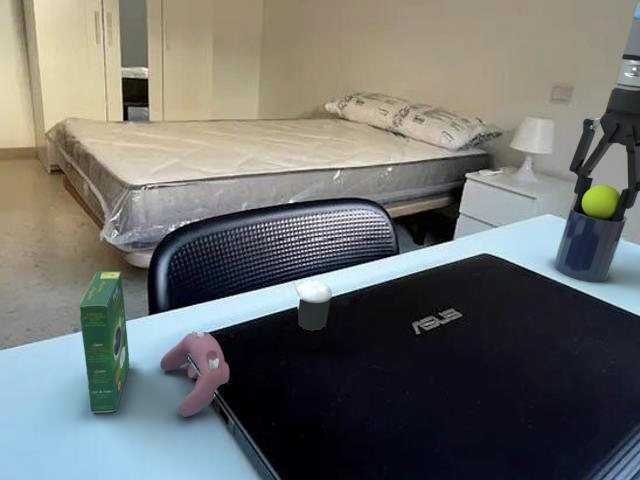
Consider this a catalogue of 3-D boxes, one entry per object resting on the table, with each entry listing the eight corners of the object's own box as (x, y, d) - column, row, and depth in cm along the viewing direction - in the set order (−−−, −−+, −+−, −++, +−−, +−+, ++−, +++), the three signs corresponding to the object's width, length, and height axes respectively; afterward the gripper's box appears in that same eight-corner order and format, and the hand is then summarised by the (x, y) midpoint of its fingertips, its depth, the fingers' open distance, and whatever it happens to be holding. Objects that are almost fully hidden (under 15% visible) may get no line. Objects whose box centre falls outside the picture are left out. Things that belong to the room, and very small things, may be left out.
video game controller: (215, 423, 55) (243, 369, 54) (177, 420, 52) (206, 363, 51) (189, 370, 63) (213, 323, 62) (155, 365, 60) (180, 315, 59)
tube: (603, 267, 100) (623, 210, 95) (609, 286, 91) (630, 226, 87) (553, 256, 103) (569, 200, 98) (554, 274, 95) (571, 214, 90)
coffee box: (105, 366, 60) (95, 268, 55) (131, 365, 60) (123, 268, 55) (89, 414, 53) (75, 306, 48) (118, 412, 53) (107, 306, 48)
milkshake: (283, 337, 68) (287, 272, 64) (319, 332, 70) (325, 269, 66) (293, 357, 64) (298, 289, 60) (331, 351, 66) (338, 285, 62)
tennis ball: (613, 217, 95) (624, 184, 92) (617, 227, 89) (629, 193, 87) (576, 210, 97) (586, 178, 94) (578, 220, 91) (588, 186, 89)
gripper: (571, 81, 88) (537, 204, 97) (697, 98, 75) (644, 239, 84) (590, 81, 93) (556, 199, 102) (712, 97, 79) (660, 231, 88)
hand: (596, 217), depth 93 cm, fingers closed on tennis ball, 6 cm apart
